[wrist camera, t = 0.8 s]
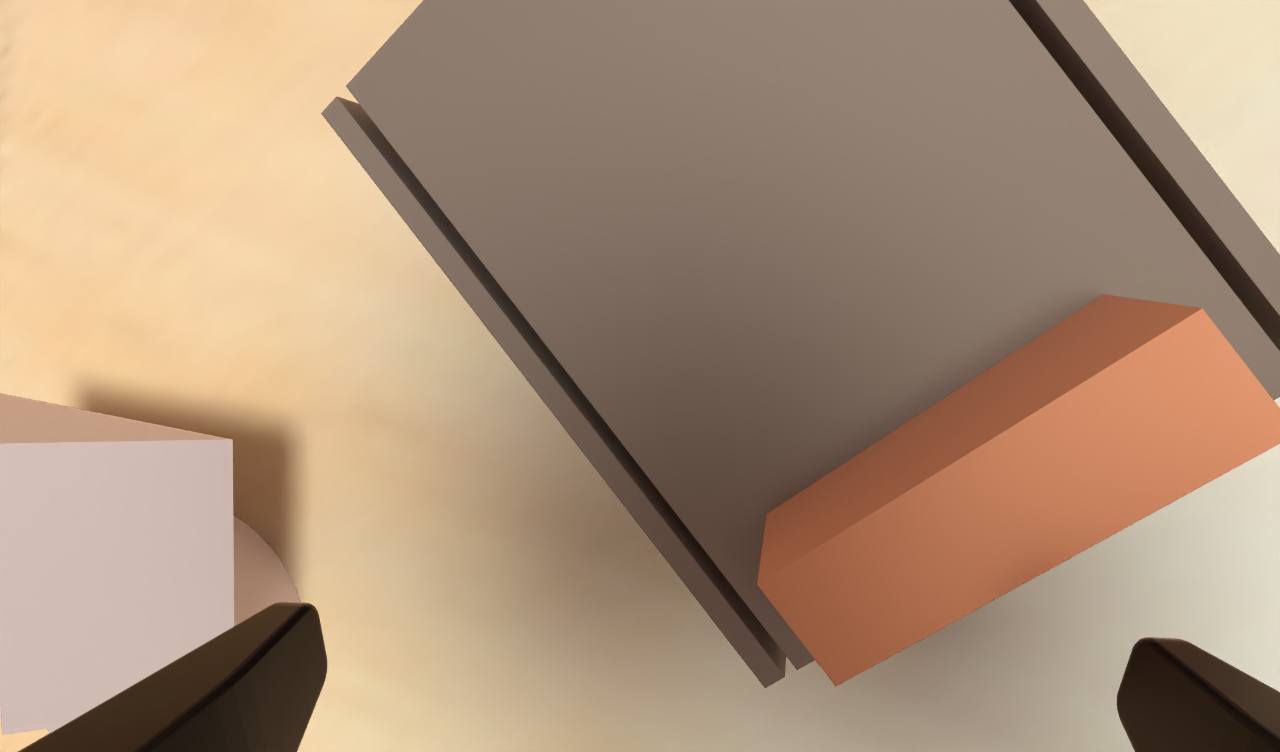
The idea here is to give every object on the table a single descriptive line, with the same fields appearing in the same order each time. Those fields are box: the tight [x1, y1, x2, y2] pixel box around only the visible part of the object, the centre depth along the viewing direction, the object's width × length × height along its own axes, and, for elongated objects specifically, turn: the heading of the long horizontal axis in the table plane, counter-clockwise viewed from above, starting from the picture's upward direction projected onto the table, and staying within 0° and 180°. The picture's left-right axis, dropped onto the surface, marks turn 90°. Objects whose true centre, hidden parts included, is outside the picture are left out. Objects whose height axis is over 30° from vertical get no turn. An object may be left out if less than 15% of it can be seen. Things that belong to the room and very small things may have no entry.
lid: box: [321, 0, 1280, 688], centre depth 12 cm, size 15×12×5 cm
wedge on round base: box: [0, 393, 301, 735], centre depth 22 cm, size 9×7×13 cm
